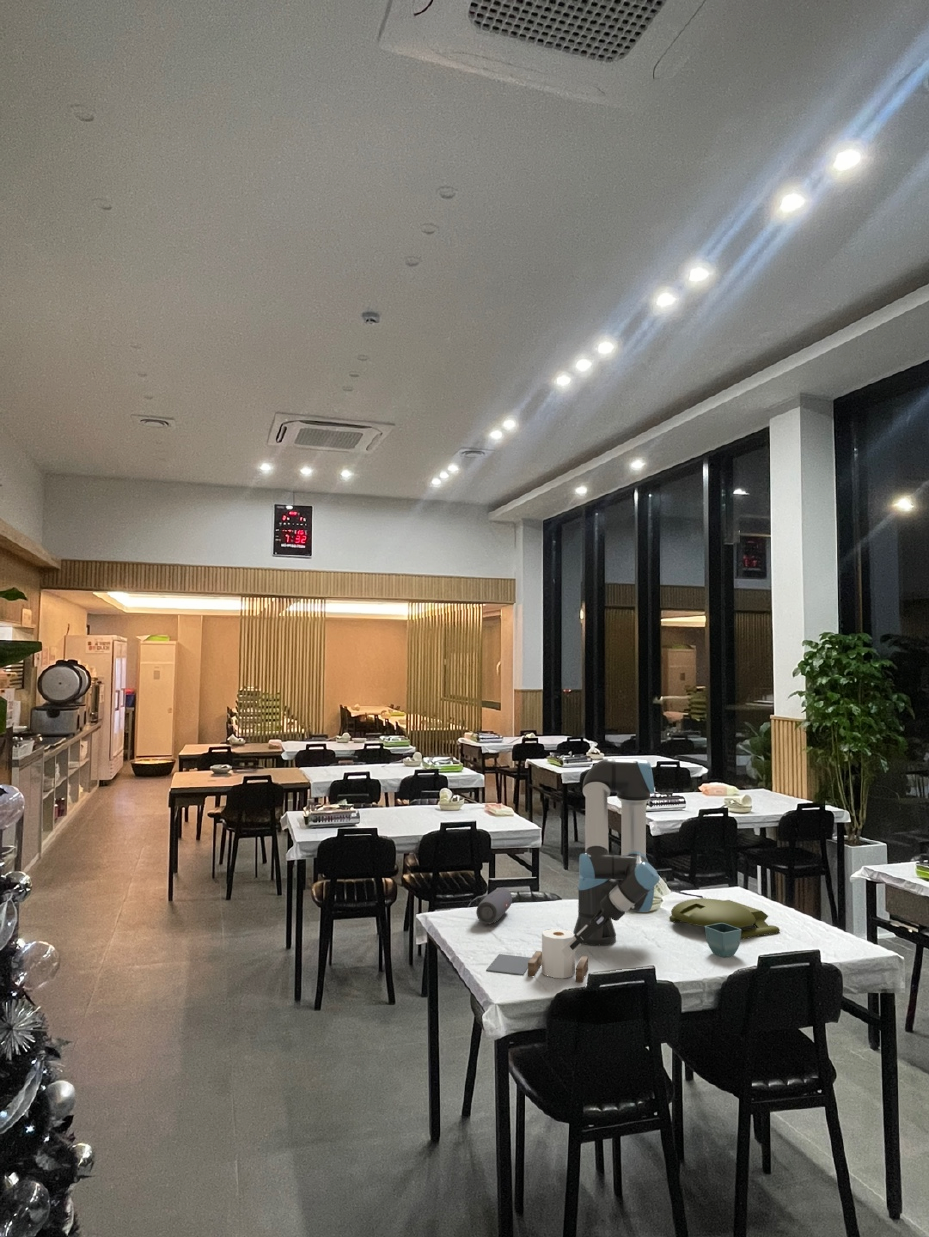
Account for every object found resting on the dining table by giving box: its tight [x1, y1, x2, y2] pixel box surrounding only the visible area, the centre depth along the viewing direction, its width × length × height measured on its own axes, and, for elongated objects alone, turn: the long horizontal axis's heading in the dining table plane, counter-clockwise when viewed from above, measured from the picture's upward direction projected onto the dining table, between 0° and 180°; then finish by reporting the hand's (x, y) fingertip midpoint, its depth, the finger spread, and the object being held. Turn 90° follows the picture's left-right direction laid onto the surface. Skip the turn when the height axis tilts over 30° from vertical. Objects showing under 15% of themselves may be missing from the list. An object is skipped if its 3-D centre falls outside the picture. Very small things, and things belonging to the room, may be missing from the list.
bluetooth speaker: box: [475, 887, 513, 925], centre depth 315 cm, size 23×9×10 cm, turn 162°
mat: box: [485, 953, 532, 976], centre depth 263 cm, size 16×12×1 cm
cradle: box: [527, 950, 589, 983], centre depth 257 cm, size 12×17×4 cm
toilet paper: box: [541, 928, 576, 979], centre depth 257 cm, size 10×10×12 cm
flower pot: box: [704, 923, 742, 958], centre depth 277 cm, size 9×9×9 cm
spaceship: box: [669, 898, 781, 940], centre depth 308 cm, size 35×31×10 cm
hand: (569, 947), depth 254 cm, fingers open, 13 cm apart
